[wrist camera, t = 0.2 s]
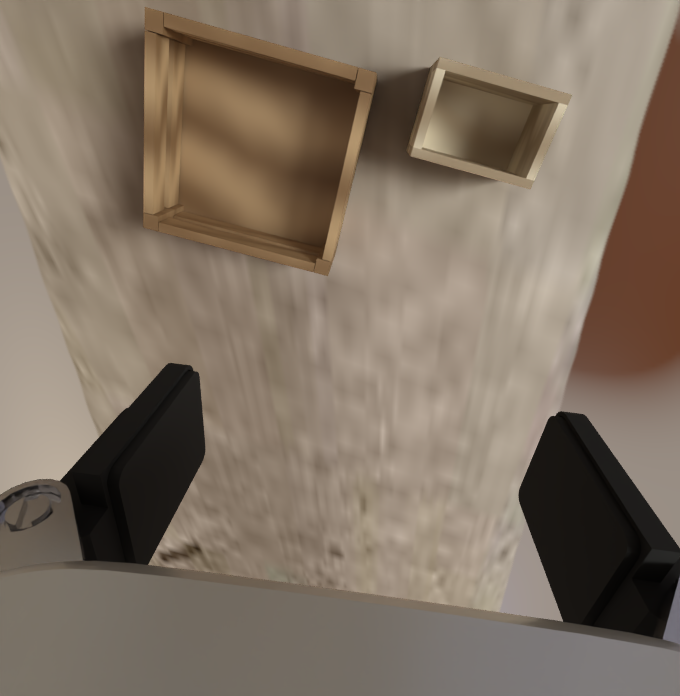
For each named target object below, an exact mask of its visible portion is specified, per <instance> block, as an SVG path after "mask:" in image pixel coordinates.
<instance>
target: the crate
mask: <svg viewBox="0 0 680 696" xmlns="http://www.w3.org/2000/svg"><path fill="white" fill-rule="evenodd" d="M145 30H147V31H145V60H144V197H143V212H144V213H143V228H147V229H151V230H155V231H159V232H162V233H166V234H170V235H174V236H178V237H181V238H185V239H189V240H193V241H197V242H200V243H204V244H208V245H212V246H216V247H219V248H223V249H227V250H231V251H235V252H239V253H242V254H246V255H250V256H254V257H258V258H261V259H265V260H269V261H273V262H277V263H280V264H284V265H288V266H292V267H296V268H299V269H303V270H307V271H311V272H313V271H314V272H315V273H319V274H322V275H326V276H328V274H329V271H330V268H331V265H332V262H333V259H334V256H335V253H336V248H337V244H338V240H339V236H340V232H341V228H342V224H343V219H344V215H345V211H346V207H347V203H348V199H349V195H350V190H351V186H352V182H353V178H354V174H355V170H356V166H357V161H358V157H359V153H360V149H361V145H362V141H363V137H364V133H365V128H366V124H367V120H368V116H369V112H370V108H371V104H372V99H373V95H374V91H375V87H376V83H377V74H376V72H372V71H369V70H365V69H362V68H358V67H355V66H351V65H348V64H344V63H341V62H337V61H334V60H330V59H327V58H323V57H320V56H316V55H312V54H309V53H305V52H302V51H298V50H295V49H291V48H288V47H284V46H281V45H277V44H274V43H270V42H267V41H263V40H260V39H256V38H253V37H249V36H246V35H242V34H239V33H235V32H231V31H228V30H224V29H221V28H217V27H214V26H210V25H207V24H203V23H200V22H196V21H193V20H189V19H186V18H182V17H179V16H175V15H172V14H168V13H165V12H161V11H158V10H154V9H150V8H147V7H145ZM149 31H150V32H149ZM152 32H153V33H152Z"/></svg>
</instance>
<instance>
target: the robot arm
mask: <svg viewBox="0 0 680 696" xmlns="http://www.w3.org/2000/svg"><path fill="white" fill-rule="evenodd" d="M204 455H205V438H204V426H203V413H202V401H201V389H200V377H199V373H198V372H195V371H193V368H192V366H190V365H182V364H174V363H168V364H167V365H166V366H165V367H164V368H163V369H162V371H161V372H160V373H159V374H158V375H157V376H156V377H155V378H154V380H153V381H152V382H151V383H150V384H149V385H148V386H147V388H146V389H145V390H144V391H143V392H142V393H141V394H140V395H139V397H138V398H137V399H136V400H135V401H134V402H133V403H132V404H131V406H130V407H129V408H126V409H125V410H124V411H122V412H121V414H120V415H119V416H118V417H117V418H116V419H115V420H114V421H113V422H112V424H111V425H110V426H109V427H108V428H107V429H106V430H105V431H104V432H103V434H102V435H101V436H100V437H99V438H98V439H97V440H96V441H95V442H94V444H93V445H92V446H91V447H90V448H89V449H88V450H87V451H86V453H85V454H84V455H83V456H82V457H81V458H80V459H79V460H78V462H76V464H75V465H74V466H73V467H72V468H71V469H70V470H69V471H68V473H67V474H66V475H65V476H64V477H63V478H62V479H61V480H60V481H56V480H52V479H39V480H34V481H29V482H25V483H22V484H20V485H17V486H15V487H13V488H11V489H9V490H7V491H6V492H4V493H2V494H1V495H0V696H680V548H679V547H678V545H677V544H676V542H675V541H674V540H673V538H672V537H671V535H670V534H669V533H668V531H667V530H666V528H665V527H664V525H663V524H662V523H661V521H660V520H659V518H658V517H657V516H656V514H655V513H654V511H653V510H652V509H651V507H650V506H649V504H648V503H647V501H646V500H645V499H644V497H643V496H642V494H641V493H640V491H639V490H638V489H637V487H636V486H635V484H634V483H633V482H632V480H631V479H630V477H629V476H628V475H627V473H626V472H625V470H624V469H623V467H622V466H621V465H620V463H619V462H618V460H617V459H616V458H615V456H614V455H613V453H612V452H611V451H610V449H609V448H608V446H607V445H606V443H605V442H604V441H603V439H602V438H601V436H600V435H599V434H598V432H597V431H596V429H595V428H594V426H593V425H592V424H591V422H590V421H589V420H588V418H587V417H586V416H585V415H583V414H577V413H570V412H562V411H561V412H558V413H557V414H556V416H551V417H550V418H549V419H548V421H547V424H546V426H545V429H544V431H543V433H542V436H541V438H540V441H539V443H538V445H537V448H536V450H535V453H534V455H533V457H532V460H531V462H530V465H529V467H528V470H527V472H526V474H525V477H524V479H523V482H522V484H521V486H520V489H519V502H520V505H521V508H522V511H523V513H524V516H525V519H526V522H527V524H528V527H529V530H530V532H531V535H532V538H533V540H534V543H535V546H536V548H537V551H538V553H539V557H540V559H541V562H542V565H543V567H544V570H545V573H546V576H547V578H548V581H549V584H550V587H551V589H552V592H553V594H554V597H555V600H556V603H557V605H558V608H559V611H560V614H561V616H562V619H563V622H561V621H555V620H548V619H541V618H534V617H527V616H521V615H513V614H506V613H500V612H493V611H486V610H479V609H472V608H465V607H458V606H451V605H445V604H437V603H430V602H423V601H416V600H409V599H402V598H395V597H387V596H380V595H373V594H366V593H359V592H351V591H344V590H337V589H330V588H323V587H315V586H308V585H301V584H293V583H286V582H278V581H271V580H263V579H256V578H248V577H241V576H233V575H226V574H218V573H211V572H203V571H195V570H186V569H177V568H169V567H160V566H152V565H148V564H149V562H150V560H151V558H152V556H153V554H154V552H155V550H156V548H157V547H158V545H159V543H160V541H161V539H162V537H163V535H164V533H165V531H166V529H167V528H168V526H169V524H170V522H171V520H172V518H173V516H174V514H175V512H176V511H177V509H178V507H179V505H180V503H181V501H182V499H183V497H184V495H185V493H186V492H187V490H188V488H189V486H190V484H191V482H192V480H193V478H194V476H195V474H196V473H197V471H198V469H199V467H200V465H201V463H202V461H203V458H204Z"/></svg>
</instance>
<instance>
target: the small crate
mask: <svg viewBox="0 0 680 696" xmlns="http://www.w3.org/2000/svg"><path fill="white" fill-rule="evenodd" d="M571 97H572V95H571V94H567V93H564V92H560V91H557V90H553V89H550V88H546V87H543V86H539V85H536V84H532V83H529V82H525V81H522V80H518V79H515V78H511V77H508V76H504V75H501V74H497V73H494V72H490V71H487V70H484V69H480V68H477V67H473V66H470V65H466V64H463V63H459V62H456V61H452V60H449V59H445V58H442V57H440V58H439V59H438V60H437V61H436V62H435V63H434V64H433V65H432V66H431V67H430V71H429V74H428V77H427V81H426V84H425V88H424V91H423V95H422V98H421V101H420V105H419V108H418V112H417V115H416V119H415V122H414V125H413V129H412V132H411V136H410V139H409V143H408V146H407V149H406V151H407V153H408V154H409V155H410V156H411V157H415V158H419V159H422V160H426V161H430V162H433V163H437V164H440V165H444V166H448V167H451V168H455V169H458V170H462V171H466V172H469V173H473V174H477V175H480V176H484V177H487V178H491V179H495V180H498V181H502V182H505V183H509V184H513V185H516V186H520V187H524V188H527V189H531V187H532V184H533V182H534V180H535V178H536V175H537V173H538V171H539V169H540V166H541V164H542V162H543V160H544V157H545V155H546V153H547V151H548V148H549V146H550V144H551V142H552V139H553V137H554V135H555V133H556V130H557V128H558V126H559V124H560V121H561V119H562V117H563V115H564V112H565V110H566V108H567V106H568V103H569V101H570V99H571Z"/></svg>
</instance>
